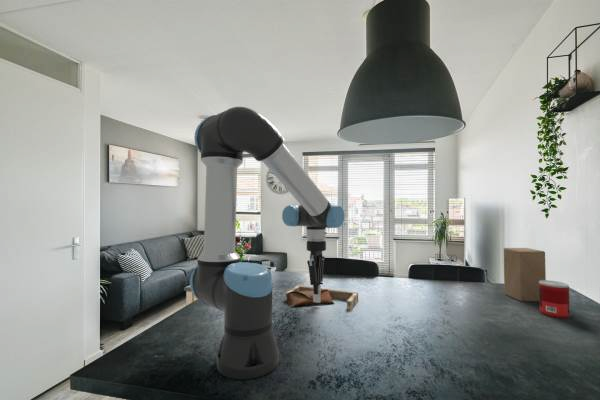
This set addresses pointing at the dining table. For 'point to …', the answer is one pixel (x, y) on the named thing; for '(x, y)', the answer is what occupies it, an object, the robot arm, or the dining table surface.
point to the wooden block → (523, 273)
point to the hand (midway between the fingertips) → (316, 302)
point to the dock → (332, 294)
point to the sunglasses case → (307, 298)
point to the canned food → (554, 299)
